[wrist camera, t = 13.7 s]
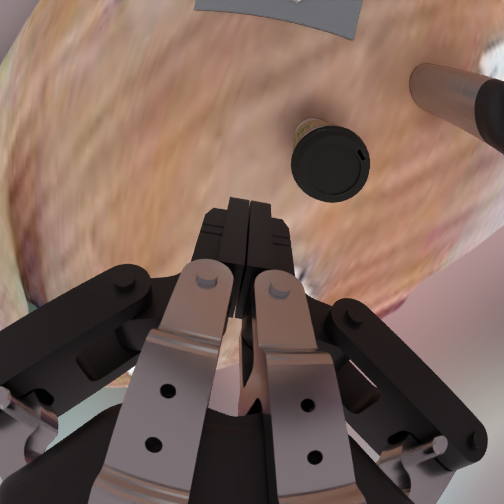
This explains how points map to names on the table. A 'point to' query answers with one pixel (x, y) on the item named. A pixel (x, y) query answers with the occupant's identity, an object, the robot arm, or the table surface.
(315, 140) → the coffee cup
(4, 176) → the table surface
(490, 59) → the table surface
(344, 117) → the table surface
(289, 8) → the mat
